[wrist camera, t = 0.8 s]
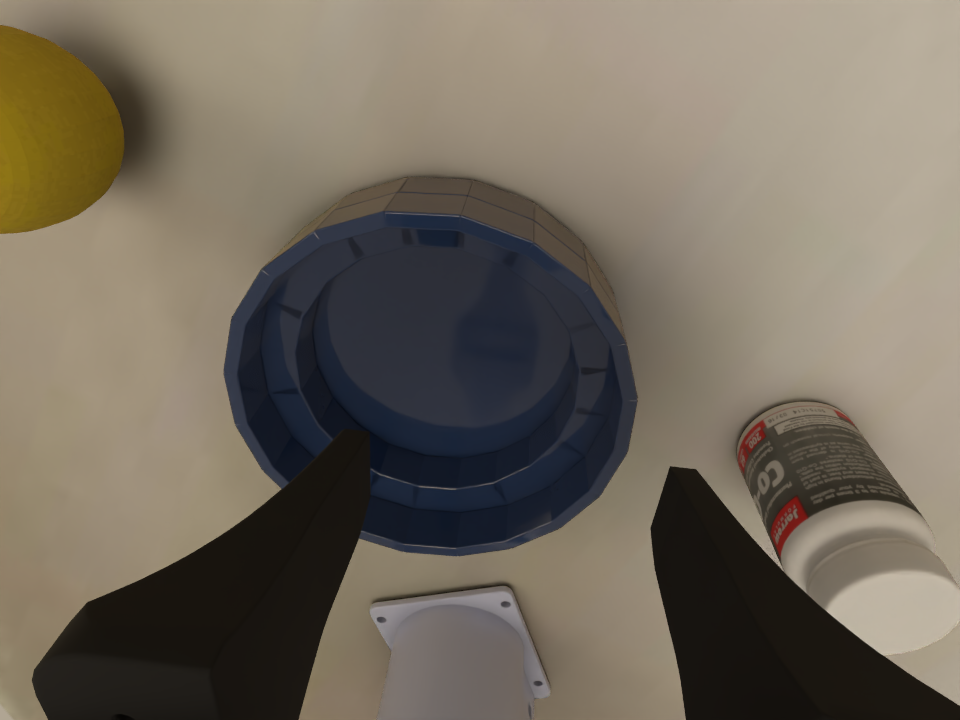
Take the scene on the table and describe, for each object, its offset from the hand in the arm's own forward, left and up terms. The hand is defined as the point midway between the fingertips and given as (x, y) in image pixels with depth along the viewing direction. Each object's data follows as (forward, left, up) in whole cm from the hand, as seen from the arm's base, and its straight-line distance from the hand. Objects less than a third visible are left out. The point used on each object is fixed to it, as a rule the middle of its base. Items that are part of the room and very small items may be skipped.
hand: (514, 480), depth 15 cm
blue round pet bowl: (-1, +4, -10) cm, 11 cm away
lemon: (+11, +13, -10) cm, 20 cm away
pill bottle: (-9, -9, -10) cm, 17 cm away
